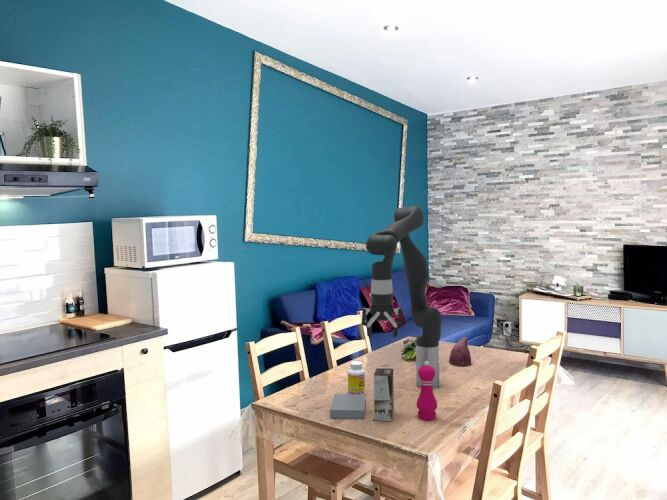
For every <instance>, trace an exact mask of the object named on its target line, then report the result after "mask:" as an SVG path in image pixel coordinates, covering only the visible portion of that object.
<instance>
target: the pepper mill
mask: <svg viewBox="0 0 667 500" xmlns="http://www.w3.org/2000/svg"><path fill="white" fill-rule="evenodd" d="M418 375H419V377H420V384H421V388H420V393H419V395H418V396H417V399H416V407H417V409H418V410H417V417H418V419H420V420H423V421H433V420H435V419H436V418H437V412H436V410H437V408H438V402H437V401H438V400H437V399H436V396H435V393H434V390H433V389H434V388H433V384H434V379H433V378H434V377H435V369H434V368H433V367H432V366H429V362H428V361H425V362H424V365H423V366H421V367H420V368H419V370H418Z"/></svg>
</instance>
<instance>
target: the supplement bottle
mask: <svg viewBox="0 0 667 500" xmlns="http://www.w3.org/2000/svg"><path fill="white" fill-rule="evenodd" d="M349 367H350V368H349V369H348V370H347V394H366V393H365V391H366V390H365V389H366V388H365V387H366V384H365V383H366V380H365V378H366V377H365V374H366V373H365V370H364V368H363V363H362V361H359V360H358V361H355V360H354V361H351V362H350V363H349Z"/></svg>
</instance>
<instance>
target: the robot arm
mask: <svg viewBox="0 0 667 500" xmlns="http://www.w3.org/2000/svg"><path fill="white" fill-rule="evenodd" d="M393 221H394V222H392V223H390V224H388V225H387V226H386V227H385V228H383V229H381V230H379V231H377V232H375V233H373V234H371V235H370V236H368V238H367V239H366V242H365V248H366V250H367V253H369V254H370V255H373V256H384V257H383V259H382V260H380V261H375V262H373V263H372V264H371V283H370V298H371V299H370V300H371V301H370V304H371V306H370V308H369V307H368V308H366V307H362V310H361V325H362V326H364V327H366V336H367V337H368V338H372V325H373V324H374V322H375V321H378V322H381V321H384V322H386V321H389V323H390V324H391V325H392V327H393V328H392V329H393V330H392V331H393V336H392V337H393V339H396V337H398V328H399V327H401V326H403V314H402V313H403V312H402V307H398V308H394V307H393V306H394V305H393V304H394V303H393V301H394V300H393V299H394V297H393V291H394V289H393V275H392V274H393V273H392V270H393V265H394V258H395V255H396V252H397V247H398V244H399V243H400V244H399V245H400V248H401V253H402V259H403V264H404V265H403V266H404V271H405V276H406V280H407V285H408V291H409V293H408V294H409V300H410V311H411V319H412V321H413V324H414V325H415V326H416V327H419V328H421V329H422V333H421V335H419V336H417V337H416V338H415V339H416V348H415V351H416V355H415V369H416V370H415V371H416V372H415V373H416V374H415V377H416V378H415V379H416V380H415V381H416V384H415V385H416V386H417V387H418V388H420V389H421V384H420V377H419V375H418V370H419V368H420V367H421V366H423V365H424V362H425V361H428V362H429V366H432V367H433V368H434V369H435V377H434V378H433V379H434V384H433V389H439V388H440V362H439V360H440V359H439V358H440V357H439V355H440V354H439V349H440V348H439V345H440V344H439V343H440V342H439V341H440V340H441V332H442V315H441V312H440V310H439V309H438V308H436V307H432V306H428V304H427V298H426V288H427V284H428V282H429V277H430V274H429V267H428V261H427V258H426V257H425V255H424V254H423V252H422V251H421V250H420V249H419V247H417V246H416V244H415V243H414V242H413V240H412V238H411V237H410V233H412V232H413V231H416V230H418V229H421V227H422V226H424V221H425V215H424V212H423V209H422V208H421V207H420V206H418V205H411V206H403V207H398V208H396V209H395V210H394V213H393ZM369 313H370V314H371V316H372V317H370V319H369V321H366V317H367V315H368V314H369ZM394 313H395V315H397V317H398V322H397V321H396V320H395V318H394V317H392V315H393V314H394Z"/></svg>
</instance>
